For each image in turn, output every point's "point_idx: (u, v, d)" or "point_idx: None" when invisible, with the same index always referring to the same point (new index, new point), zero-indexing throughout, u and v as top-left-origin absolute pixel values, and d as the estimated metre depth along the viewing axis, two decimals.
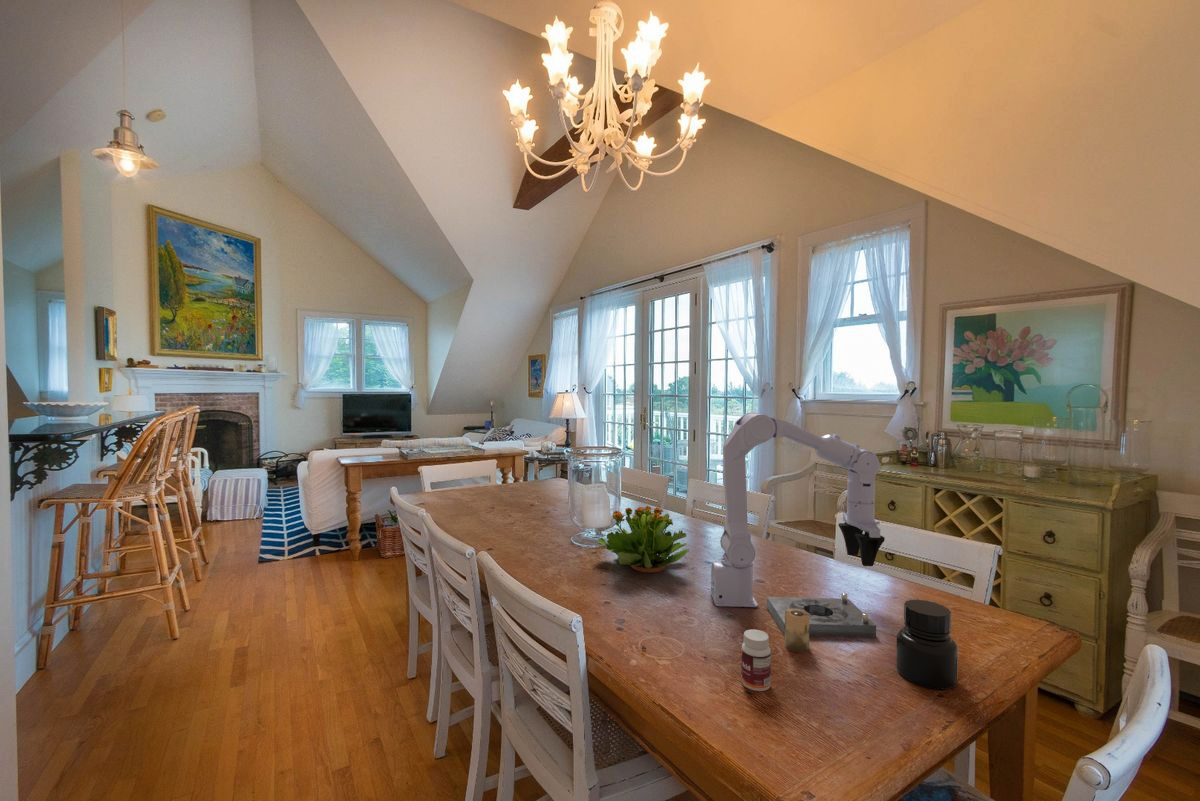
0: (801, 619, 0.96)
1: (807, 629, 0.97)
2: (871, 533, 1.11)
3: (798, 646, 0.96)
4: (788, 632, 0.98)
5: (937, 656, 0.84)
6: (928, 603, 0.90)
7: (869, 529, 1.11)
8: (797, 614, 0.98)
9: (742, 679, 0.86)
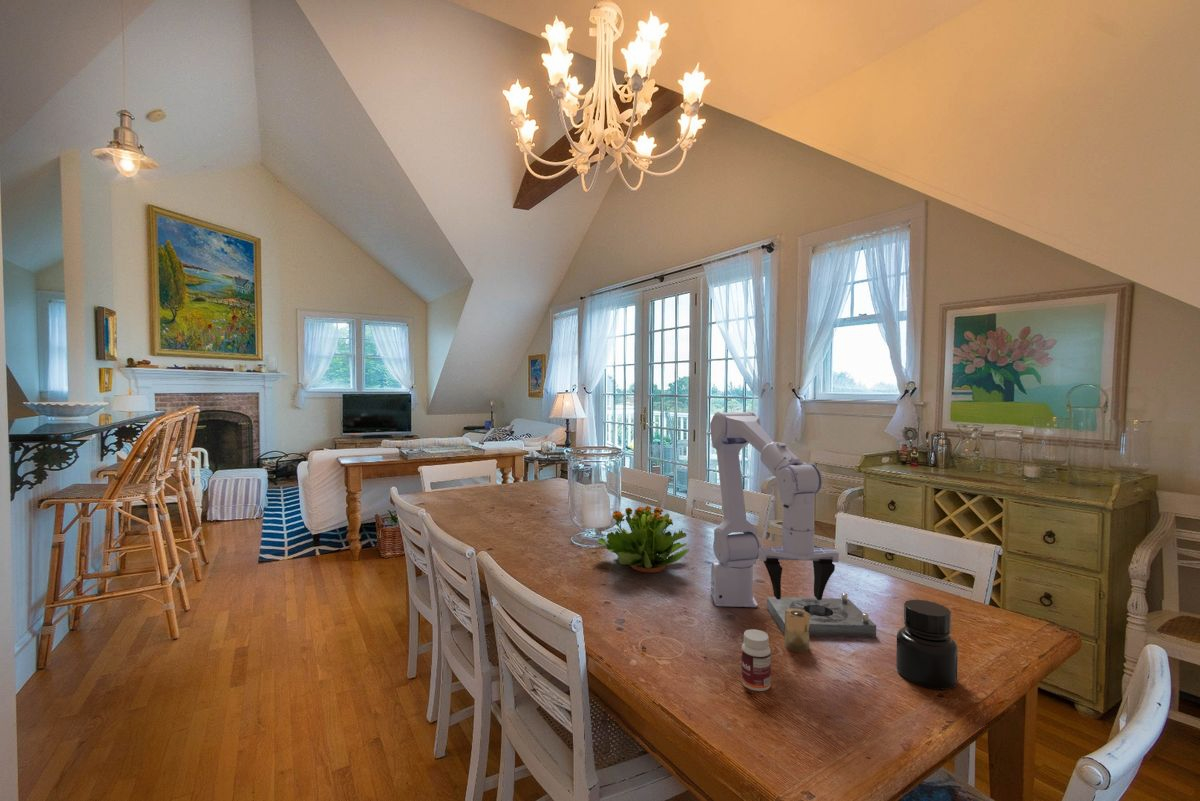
0: (801, 619, 0.96)
1: (807, 629, 0.97)
2: None
3: (798, 646, 0.96)
4: (788, 632, 0.98)
5: (937, 656, 0.84)
6: (928, 603, 0.90)
7: None
8: (797, 614, 0.98)
9: (742, 679, 0.86)
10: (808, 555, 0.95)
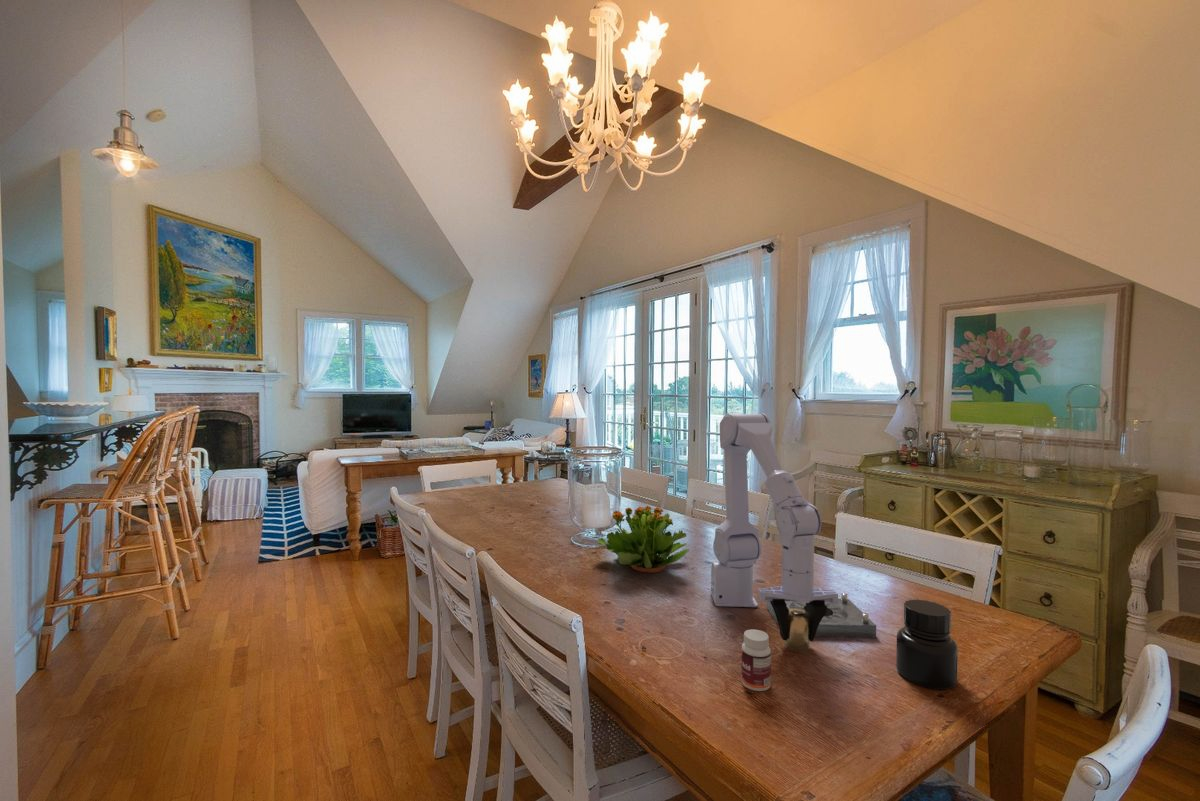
0: (801, 619, 0.96)
1: (807, 629, 0.97)
2: None
3: (798, 646, 0.96)
4: (788, 632, 0.98)
5: (937, 656, 0.84)
6: (927, 603, 0.90)
7: None
8: (797, 614, 0.98)
9: (742, 679, 0.86)
10: (807, 597, 0.95)
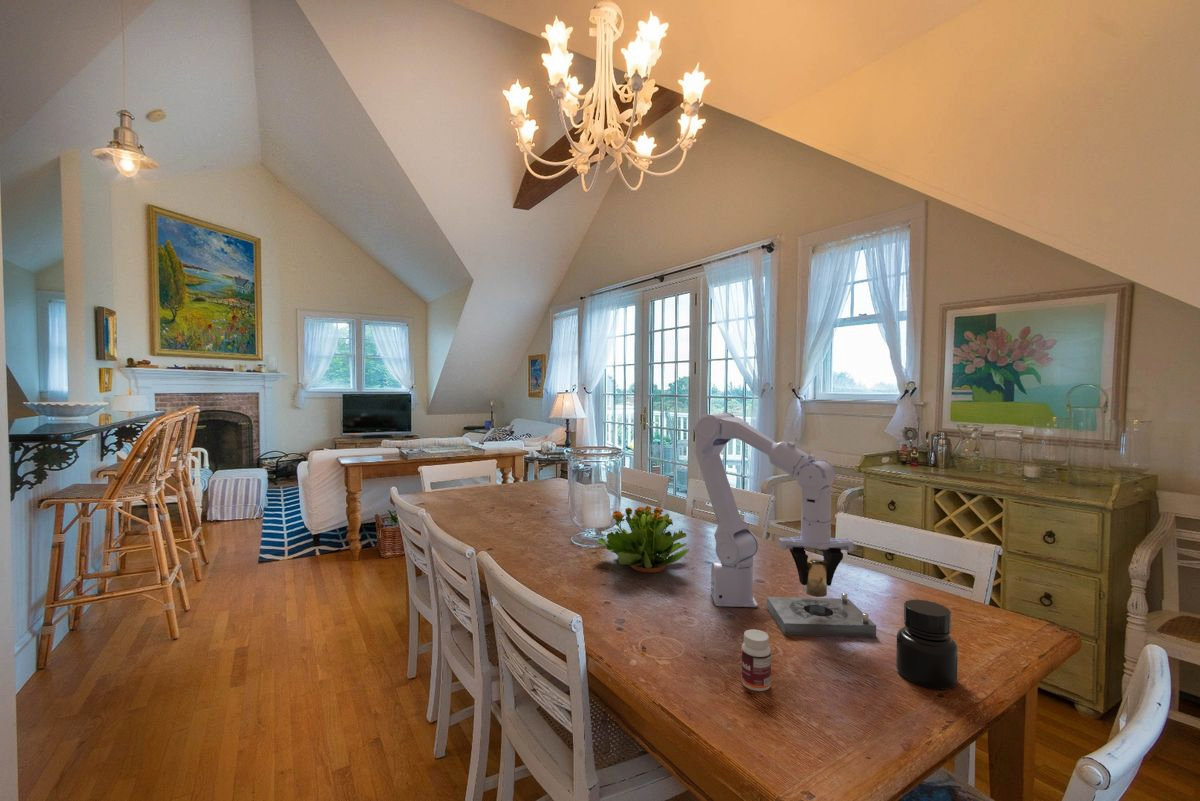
0: (819, 566, 1.04)
1: (824, 576, 1.05)
2: None
3: (815, 590, 1.05)
4: (806, 578, 1.06)
5: (937, 656, 0.84)
6: (928, 603, 0.90)
7: None
8: (815, 562, 1.06)
9: (742, 679, 0.86)
10: (825, 544, 1.04)
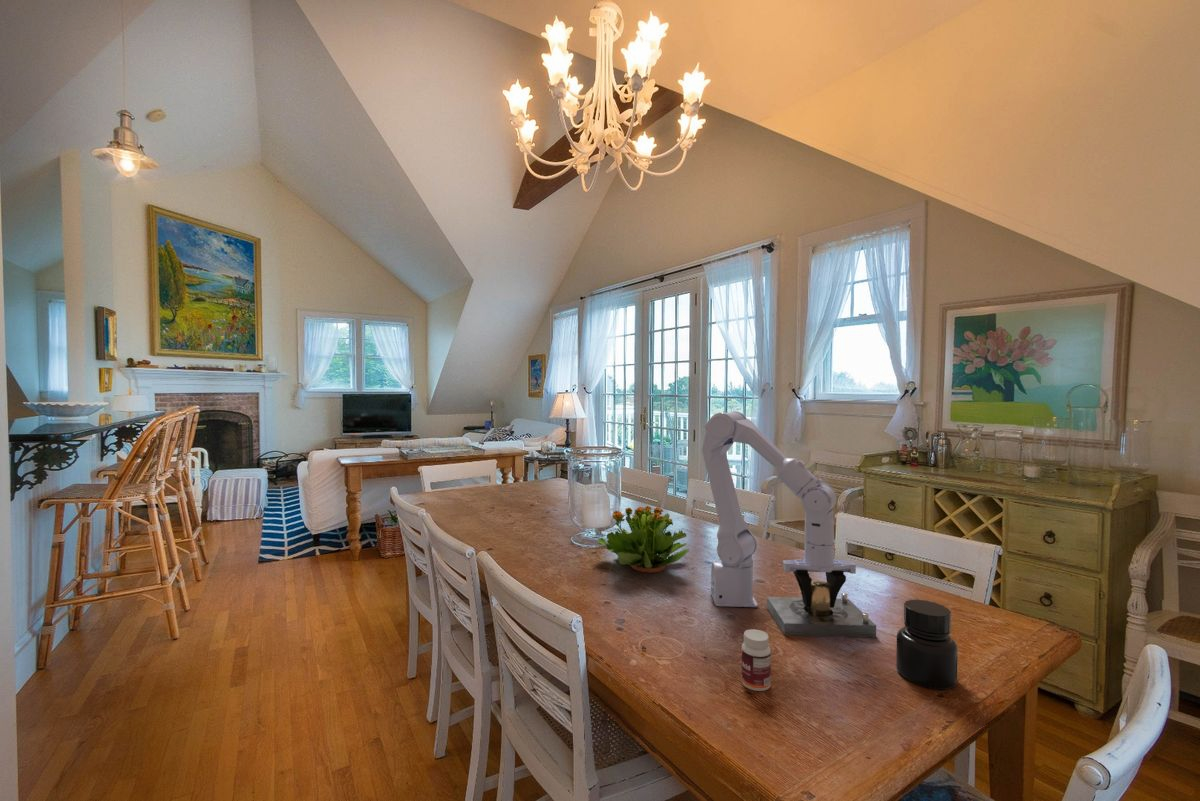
0: (822, 589, 1.06)
1: (828, 598, 1.07)
2: None
3: (819, 612, 1.07)
4: (810, 600, 1.08)
5: (937, 656, 0.84)
6: (927, 603, 0.90)
7: None
8: (819, 584, 1.08)
9: (742, 679, 0.86)
10: (828, 567, 1.06)
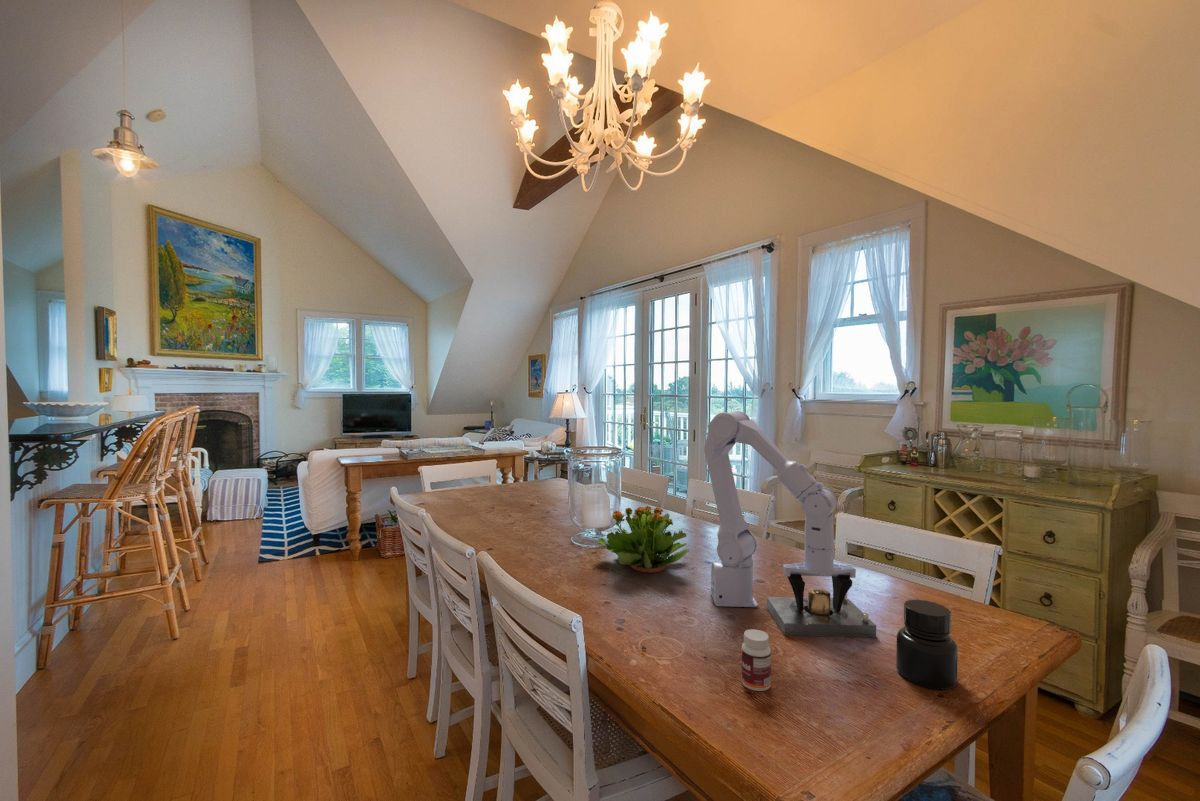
0: (822, 597, 1.07)
1: (828, 606, 1.07)
2: None
3: None
4: (810, 609, 1.08)
5: (937, 656, 0.84)
6: (927, 603, 0.90)
7: None
8: (819, 592, 1.08)
9: (742, 679, 0.86)
10: (828, 571, 1.06)
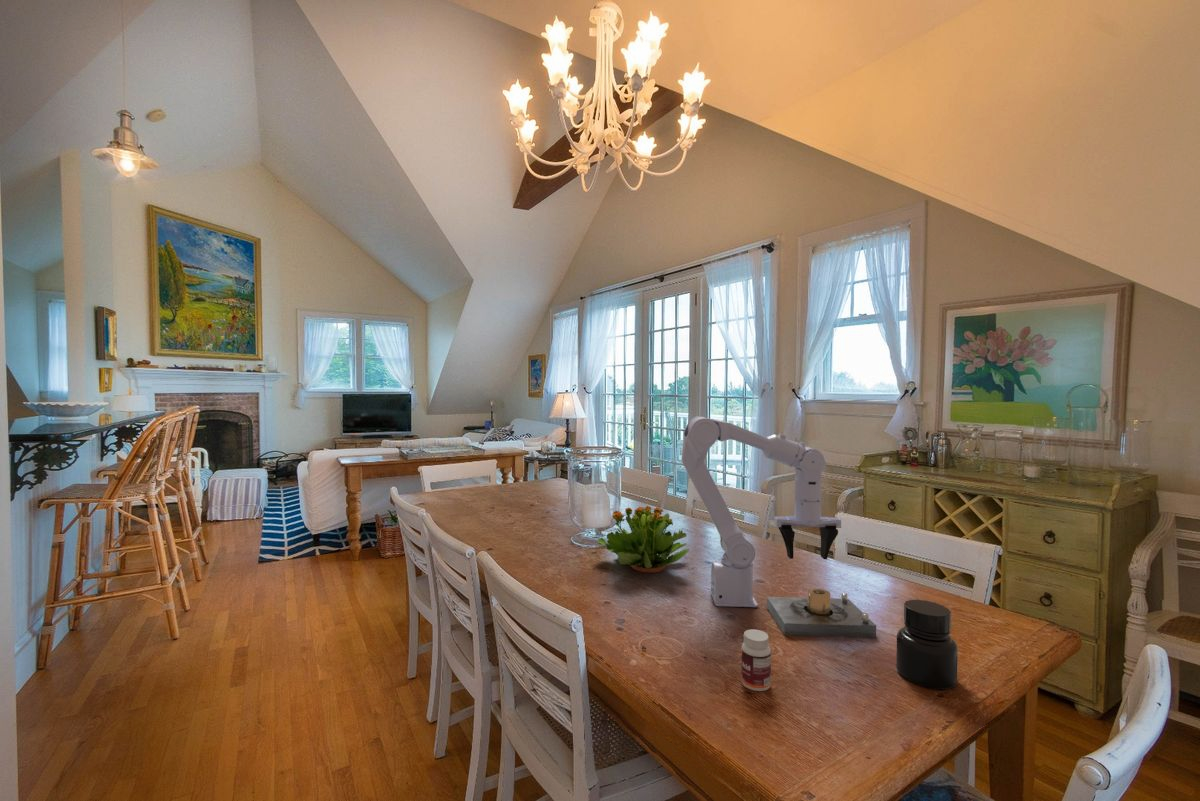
0: (822, 597, 1.07)
1: (828, 606, 1.07)
2: None
3: None
4: (810, 609, 1.08)
5: (937, 656, 0.84)
6: (927, 603, 0.90)
7: None
8: (819, 592, 1.08)
9: (742, 679, 0.86)
10: (816, 521, 1.15)
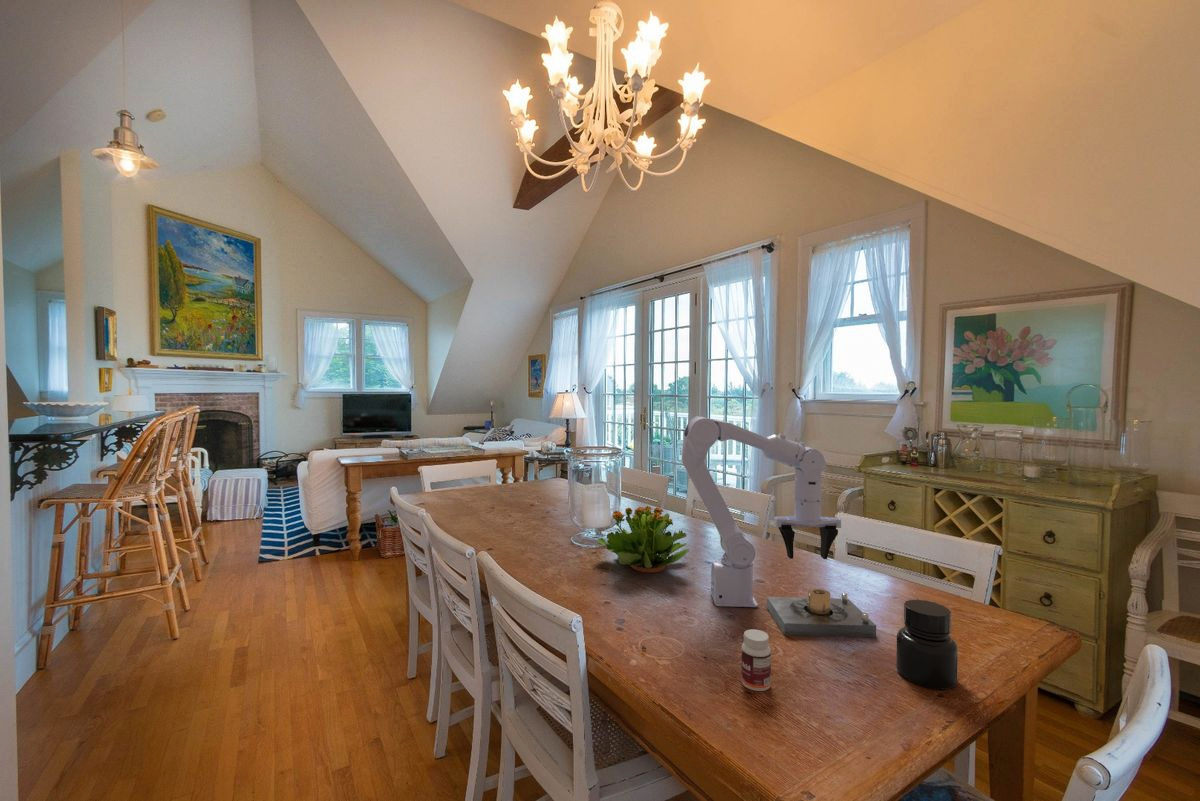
0: (822, 597, 1.07)
1: (827, 606, 1.07)
2: None
3: None
4: (810, 609, 1.08)
5: (937, 656, 0.84)
6: (927, 603, 0.90)
7: None
8: (819, 592, 1.08)
9: (742, 679, 0.86)
10: (816, 521, 1.15)
